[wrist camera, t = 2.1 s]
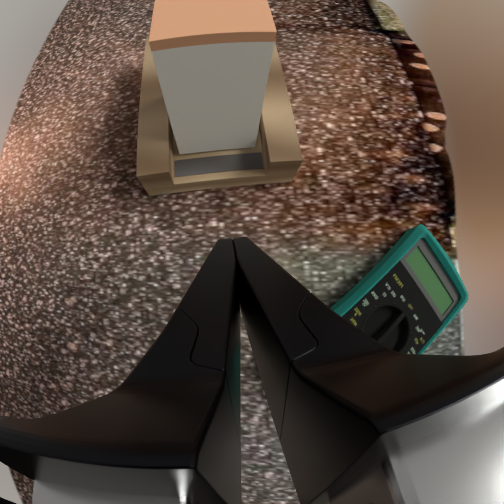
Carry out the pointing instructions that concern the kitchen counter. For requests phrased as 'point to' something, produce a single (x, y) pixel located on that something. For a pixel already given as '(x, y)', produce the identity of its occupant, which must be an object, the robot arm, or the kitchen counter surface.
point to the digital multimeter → (406, 294)
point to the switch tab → (213, 69)
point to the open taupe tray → (220, 161)
